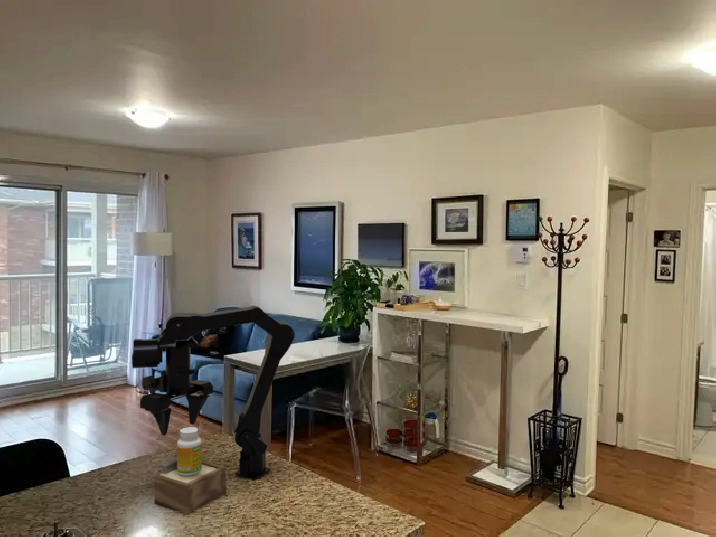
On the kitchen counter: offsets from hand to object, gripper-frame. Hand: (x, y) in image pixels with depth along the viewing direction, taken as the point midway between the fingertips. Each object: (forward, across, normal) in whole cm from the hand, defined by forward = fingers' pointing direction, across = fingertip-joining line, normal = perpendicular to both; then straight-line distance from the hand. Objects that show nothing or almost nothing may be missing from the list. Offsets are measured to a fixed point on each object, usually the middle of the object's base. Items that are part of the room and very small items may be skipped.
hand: (178, 429), depth 134 cm
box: (+13, +5, +9) cm, 16 cm away
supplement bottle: (+7, +5, +8) cm, 12 cm away
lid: (+8, +5, +8) cm, 12 cm away
